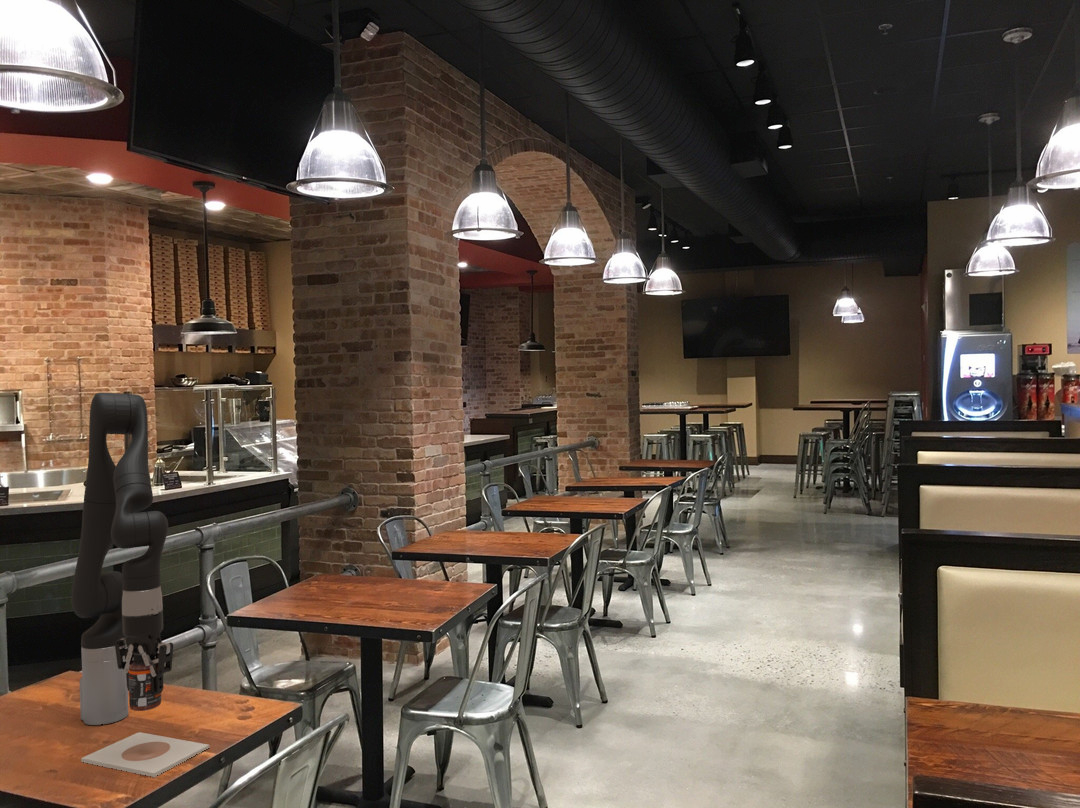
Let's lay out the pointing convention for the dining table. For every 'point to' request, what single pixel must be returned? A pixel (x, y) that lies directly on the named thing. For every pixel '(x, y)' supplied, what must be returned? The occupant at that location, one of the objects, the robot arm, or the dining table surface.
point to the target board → (145, 754)
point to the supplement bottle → (141, 686)
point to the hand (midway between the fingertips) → (145, 691)
